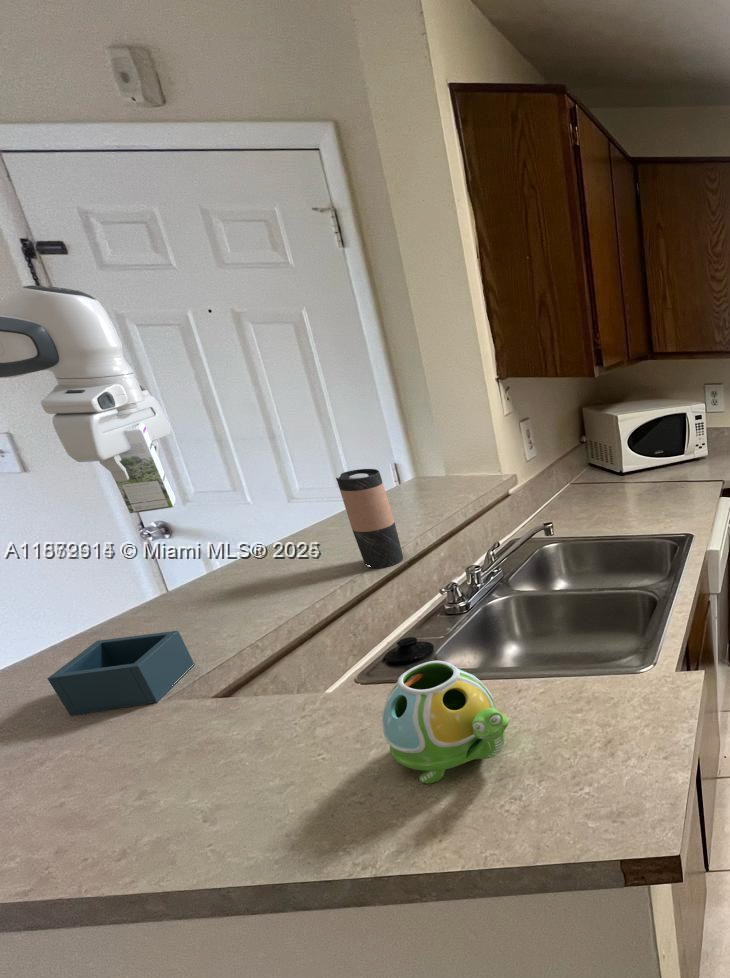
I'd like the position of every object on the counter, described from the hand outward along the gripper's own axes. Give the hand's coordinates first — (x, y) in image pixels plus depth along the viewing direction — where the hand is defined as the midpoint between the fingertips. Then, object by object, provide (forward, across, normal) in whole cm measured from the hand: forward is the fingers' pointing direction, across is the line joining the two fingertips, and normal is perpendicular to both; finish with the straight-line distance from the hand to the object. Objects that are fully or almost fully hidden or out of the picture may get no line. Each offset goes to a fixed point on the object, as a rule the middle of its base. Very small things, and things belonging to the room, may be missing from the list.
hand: (139, 473), depth 107 cm
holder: (+26, +30, +6) cm, 40 cm away
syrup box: (+6, 0, 0) cm, 6 cm away
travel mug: (+25, -10, +29) cm, 40 cm away
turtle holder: (+25, +60, +55) cm, 85 cm away
